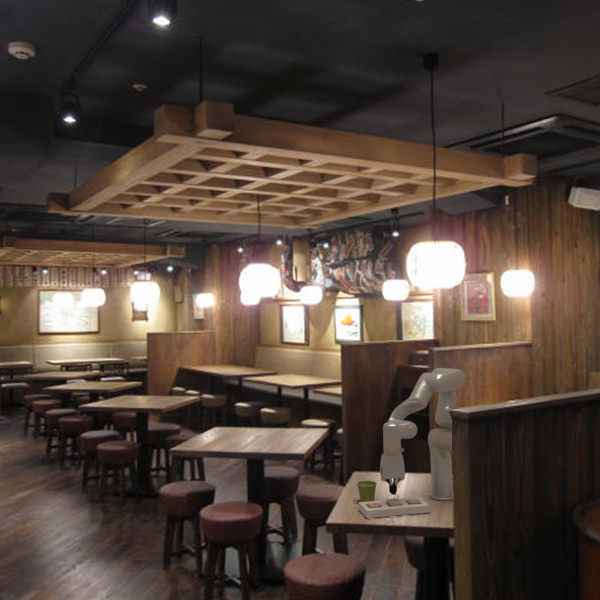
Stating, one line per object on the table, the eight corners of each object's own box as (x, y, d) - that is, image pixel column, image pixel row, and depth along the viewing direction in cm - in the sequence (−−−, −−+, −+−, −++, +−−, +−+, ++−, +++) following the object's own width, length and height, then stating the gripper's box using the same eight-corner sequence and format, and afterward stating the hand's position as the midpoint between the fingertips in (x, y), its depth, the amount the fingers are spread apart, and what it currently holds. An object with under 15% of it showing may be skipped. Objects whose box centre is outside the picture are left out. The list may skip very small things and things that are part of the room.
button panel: (418, 504, 269) (418, 497, 269) (429, 513, 257) (429, 505, 257) (358, 510, 263) (358, 502, 263) (367, 519, 251) (367, 511, 251)
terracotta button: (377, 509, 261) (377, 502, 261) (380, 513, 256) (380, 506, 257) (367, 510, 260) (367, 503, 260) (370, 514, 256) (370, 506, 256)
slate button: (416, 506, 264) (415, 499, 264) (420, 509, 260) (419, 502, 260) (406, 507, 263) (406, 500, 264) (410, 510, 259) (410, 503, 259)
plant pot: (352, 503, 274) (352, 483, 274) (364, 497, 281) (363, 479, 281) (370, 506, 268) (369, 487, 268) (381, 501, 275) (380, 482, 275)
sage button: (396, 505, 263) (396, 498, 263) (400, 508, 258) (400, 501, 258) (387, 506, 262) (387, 499, 262) (390, 509, 257) (390, 502, 257)
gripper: (405, 448, 266) (406, 490, 265) (373, 450, 263) (373, 492, 262) (411, 452, 258) (412, 495, 258) (378, 454, 255) (379, 497, 255)
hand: (393, 493), depth 260 cm, fingers closed
